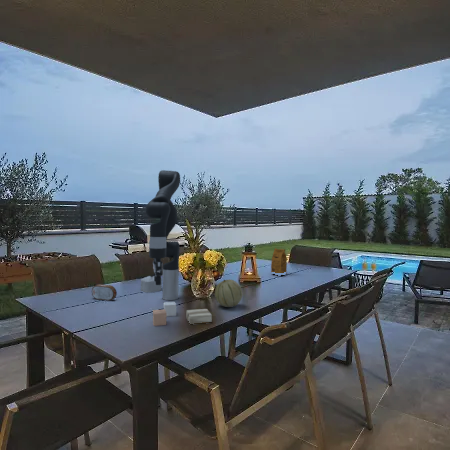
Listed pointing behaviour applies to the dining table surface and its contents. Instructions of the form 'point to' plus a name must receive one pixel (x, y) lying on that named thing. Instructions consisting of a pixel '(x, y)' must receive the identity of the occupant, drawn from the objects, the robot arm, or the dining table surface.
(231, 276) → the dining table surface
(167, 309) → the offwhite cube
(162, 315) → the terracotta cube
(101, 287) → the tin
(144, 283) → the lumpy-topped squat cylinder
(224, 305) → the cantaloupe
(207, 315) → the gray block
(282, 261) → the coffee package
